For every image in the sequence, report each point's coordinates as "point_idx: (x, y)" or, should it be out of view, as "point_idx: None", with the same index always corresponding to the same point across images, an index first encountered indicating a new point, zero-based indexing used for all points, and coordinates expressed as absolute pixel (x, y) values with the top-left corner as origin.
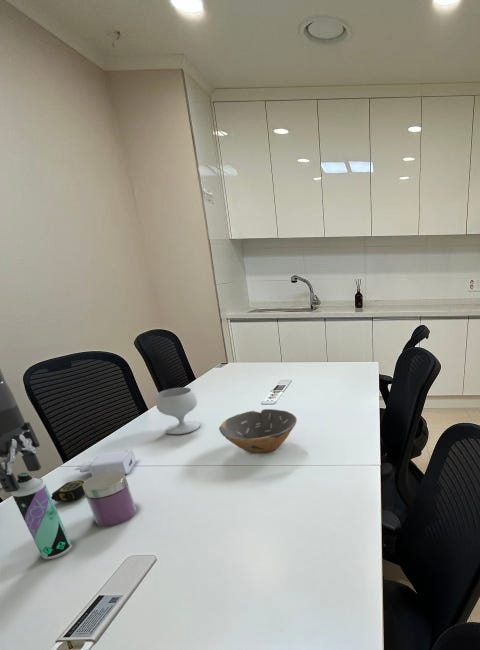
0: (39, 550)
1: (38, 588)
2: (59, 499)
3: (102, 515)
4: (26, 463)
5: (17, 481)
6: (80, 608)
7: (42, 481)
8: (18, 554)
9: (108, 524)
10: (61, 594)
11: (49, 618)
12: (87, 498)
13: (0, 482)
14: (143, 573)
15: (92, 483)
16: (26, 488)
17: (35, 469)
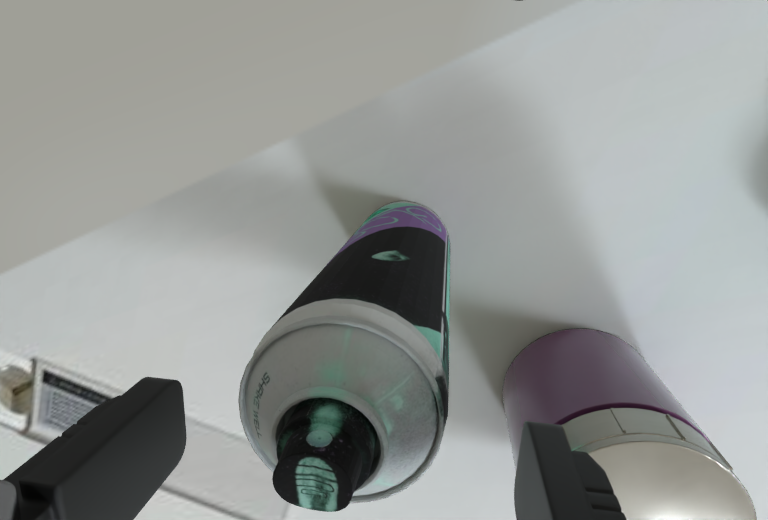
0: (367, 219)
1: (220, 253)
2: None
3: (512, 402)
4: (537, 492)
5: (320, 397)
6: (121, 383)
7: (359, 500)
8: (435, 105)
9: (504, 385)
10: (180, 324)
11: (101, 322)
12: (560, 415)
13: (34, 457)
14: (214, 500)
15: (619, 488)
16: (258, 441)
17: (521, 475)
